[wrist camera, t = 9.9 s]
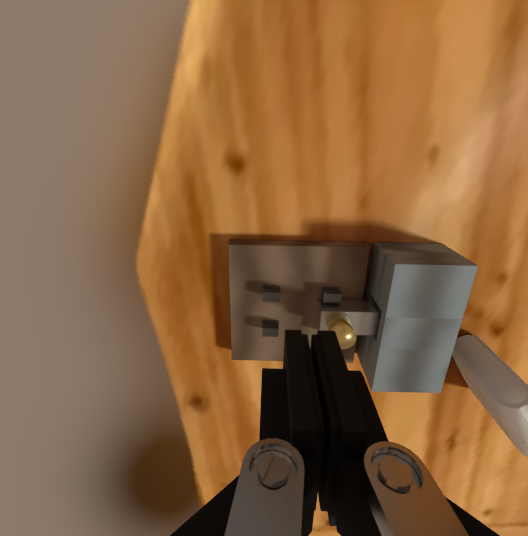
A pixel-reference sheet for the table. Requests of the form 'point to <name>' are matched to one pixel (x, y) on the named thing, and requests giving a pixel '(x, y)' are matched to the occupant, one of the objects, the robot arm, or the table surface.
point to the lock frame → (352, 287)
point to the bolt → (349, 319)
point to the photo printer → (495, 387)
